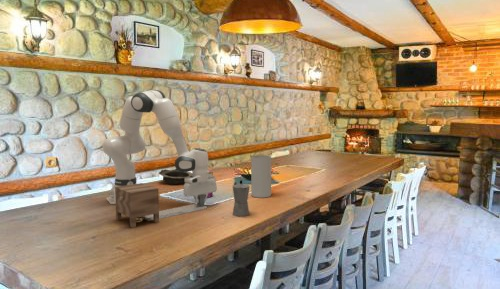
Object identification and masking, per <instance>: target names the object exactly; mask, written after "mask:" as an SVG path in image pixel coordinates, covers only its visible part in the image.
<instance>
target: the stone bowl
mask: <svg viewBox="0 0 500 289" xmlns="http://www.w3.org/2000/svg"><path fill="white" fill-rule="evenodd" d="M158 174H159V175H161V176H162V177H163V178H162V179H163V181H164V183H165V185H184V184H185V183H186V182H185V181H184V179H185V178H186V177H188V176H190V175H192V171H188V172H180V171H178V170H177V169H176V168H175V169H161V170H160V171H159V172H158Z"/></svg>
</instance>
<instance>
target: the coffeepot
mask: <svg viewBox="0 0 500 289" xmlns="http://www.w3.org/2000/svg"><path fill="white" fill-rule="evenodd" d="M232 193H233V198H234V204H233V211H232V215H233V216H235V217H248V216H249V215H250V209H249V204H248V203H249V202H248V200H249V193H250V185H249V184H244V183H243V179H242V180H241V179H240V180H239V182H236V181H235V182H234V183H233V185H232Z"/></svg>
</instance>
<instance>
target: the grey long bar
mask: <svg viewBox="0 0 500 289" xmlns="http://www.w3.org/2000/svg"><path fill="white" fill-rule="evenodd" d="M197 198H198V199H199V203H192V204H187V205H182V206H178V207H177V206H176V207H173V208H168V209H163V210H159V220H160V219H165V218H169V217H173V216H177V215H182V214H188V213H193V212H196V211H201V210H205V209H207V205H205V204H206V203H205V202H206V201H205V195H203V194H201V195H198V197H197ZM140 218H142V219H143V220H145V221H147V222H151V221H153V214H152V215H147V216H142V217H140Z"/></svg>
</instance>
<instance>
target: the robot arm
mask: <svg viewBox="0 0 500 289" xmlns="http://www.w3.org/2000/svg"><path fill="white" fill-rule="evenodd" d="M151 112H153V113H154V114H155V115H156V118H157V121H158V124H159V126H160V128H161V130H162V132H163V133H164V134H165V135H167V136H168V137H169V138H170V139H171V140H172V143H173V145H174V147H175V150H176V152H177V155H178V156H177V158H176V159H175V161H174V167H175V169H177V170H178V171H180V172H191V173H192V175H190V176H188V177H186V178H185V179H184V181H185V182H186V183H183V195H184V197H187V198H188V197H189V198H190V197H193V198H194V200H195V204H197V203H199V199H198V198H197V197H198V195H201V194H204V195H205V202H207V199H208V198H207V196H208V193H212V192H213V193H216V192H217V190H218V189H217V178H216V176H214V175H213V176H208V169H209V168H208V167H209V154H208V151H207V150H206V149H203V148H200V147H198V148H197V147H195V148H193V149H192V150H190V149H189V148H188V144H187V143H186V140H185V138H184V135H183V130H182V125H181V121H180V117H179V116H180V115H178V112H177V109H176V107H175V105H174V103H173V102H172V100H171V99H170V98H167V97H166V95H165V94H164V93H163V91H161V90H158V89H152V90H145V91H141V92H137V93H136V94H133V96H132V95H130V96H128V97H127V98H126V100H125V103H124V105H123V108H122V111H121V116H120V119H119V128H120V129H121V130H122V131H123V132H124V135H118V136H116V135H115V136H111V137H107V138H106V139H104V141H103V143H102V150H103V153H105V154H106V155H107V156H108V157H109V158H111V160H112V161H113V164H114V170H115V179H114V185H113V186H112V187H111V189H110V190H109V191H108V195H109V196H107V197H106V201H108V202H109V204H110V205H116V201H115V187H118V186H125V185H132V184H137V177H136V165H135V163H134V162H133V161H131V160H129V158H128V155H133V154H139V153H140V152H141V153H142V152H143V151H144V150H145V148H146V141H145V139H144V137H143V136H142V135H141V132H140V129H141V123H142V118H143V114H144V113H151Z"/></svg>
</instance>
